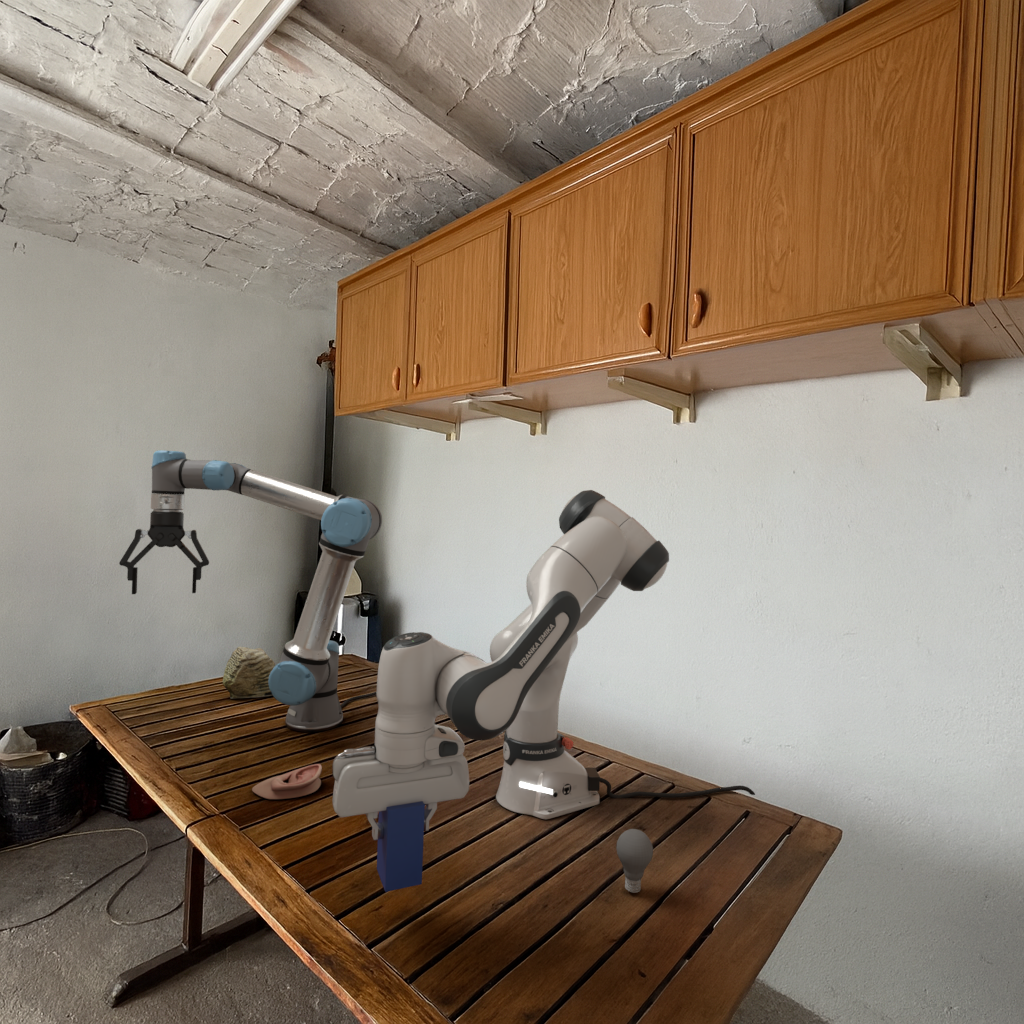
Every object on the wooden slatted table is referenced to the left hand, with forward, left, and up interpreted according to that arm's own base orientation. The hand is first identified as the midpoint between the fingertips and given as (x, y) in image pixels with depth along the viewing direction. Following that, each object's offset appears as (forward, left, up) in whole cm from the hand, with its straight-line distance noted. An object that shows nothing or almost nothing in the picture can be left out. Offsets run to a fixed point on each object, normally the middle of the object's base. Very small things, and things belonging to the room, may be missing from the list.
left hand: (164, 593), depth 163 cm
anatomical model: (-5, +51, -36) cm, 63 cm away
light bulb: (-24, +124, -36) cm, 131 cm away
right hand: (+7, +101, -23) cm, 104 cm away
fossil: (-33, -13, -36) cm, 51 cm away
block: (+7, +101, -30) cm, 105 cm away
